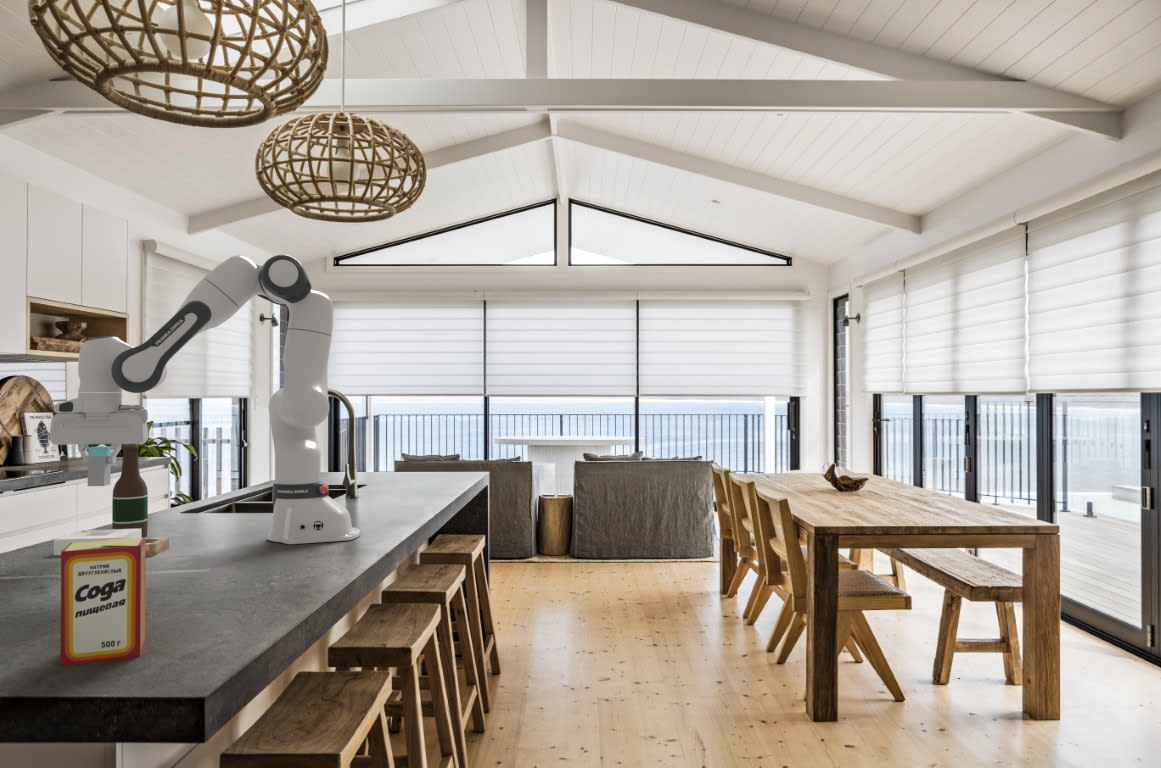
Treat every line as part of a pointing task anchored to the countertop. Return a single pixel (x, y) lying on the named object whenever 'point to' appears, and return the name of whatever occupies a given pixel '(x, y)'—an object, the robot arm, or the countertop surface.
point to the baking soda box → (102, 600)
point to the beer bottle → (130, 495)
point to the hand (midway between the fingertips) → (99, 463)
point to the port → (94, 537)
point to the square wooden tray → (156, 545)
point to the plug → (98, 466)
